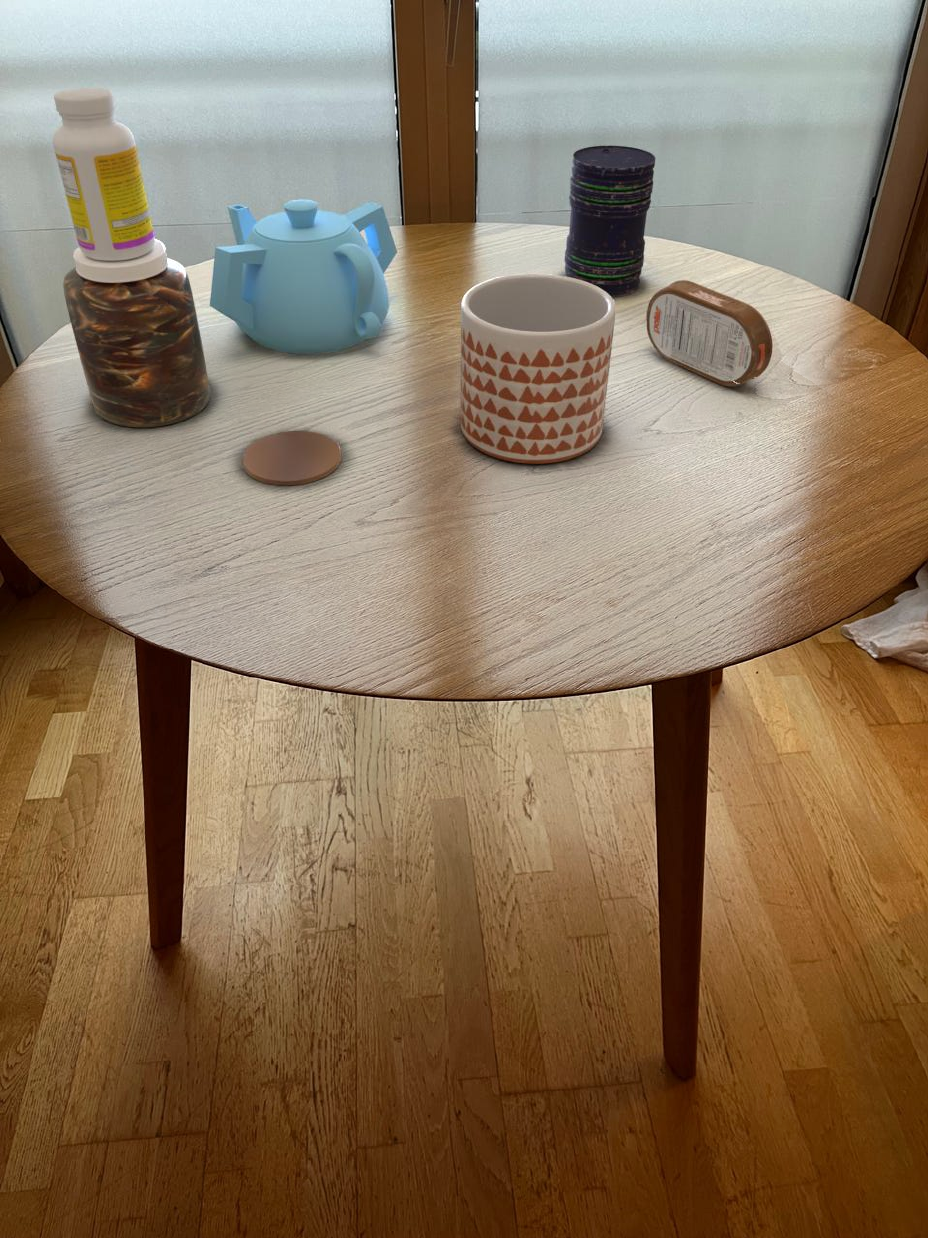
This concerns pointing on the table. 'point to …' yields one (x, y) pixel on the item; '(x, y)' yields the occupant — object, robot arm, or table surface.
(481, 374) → the planter
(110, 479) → the table surface
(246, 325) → the teapot
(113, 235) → the supplement bottle
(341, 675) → the table surface
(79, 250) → the jar
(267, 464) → the brown coaster
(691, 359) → the tin
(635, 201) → the storage jar
